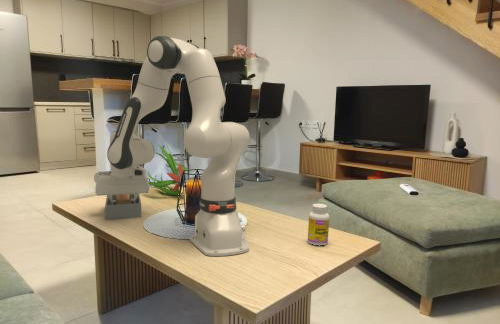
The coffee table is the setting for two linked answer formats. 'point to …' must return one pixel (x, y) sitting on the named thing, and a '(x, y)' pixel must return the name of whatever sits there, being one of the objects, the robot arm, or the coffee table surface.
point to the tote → (123, 208)
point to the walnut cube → (123, 202)
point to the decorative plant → (173, 175)
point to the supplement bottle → (318, 225)
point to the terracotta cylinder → (123, 197)
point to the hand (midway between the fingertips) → (123, 204)
